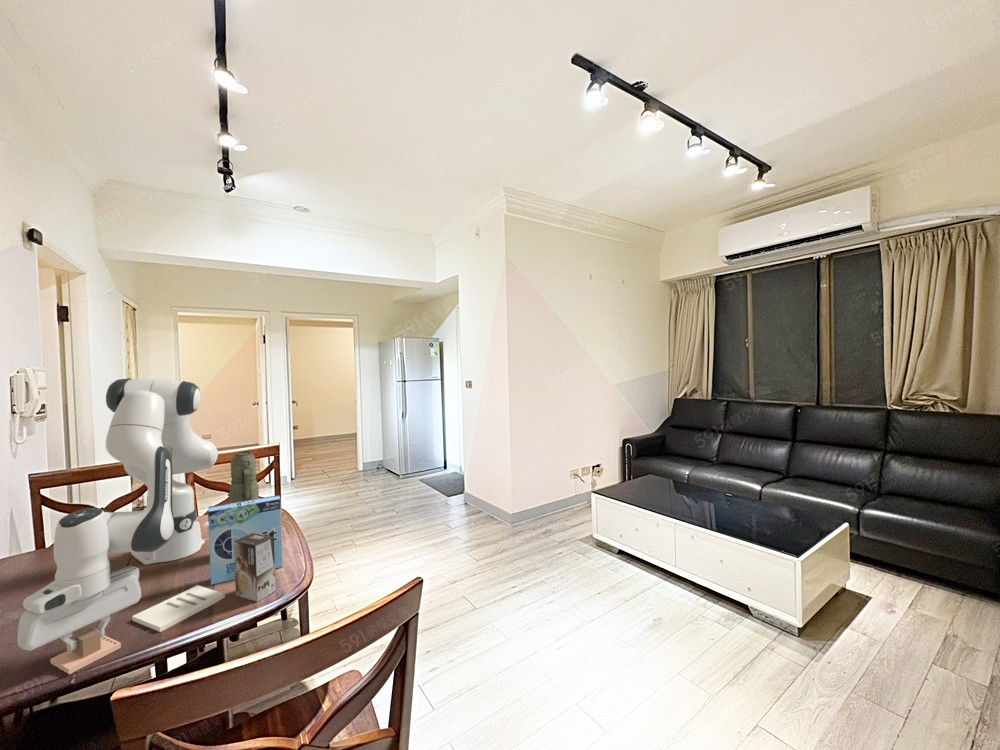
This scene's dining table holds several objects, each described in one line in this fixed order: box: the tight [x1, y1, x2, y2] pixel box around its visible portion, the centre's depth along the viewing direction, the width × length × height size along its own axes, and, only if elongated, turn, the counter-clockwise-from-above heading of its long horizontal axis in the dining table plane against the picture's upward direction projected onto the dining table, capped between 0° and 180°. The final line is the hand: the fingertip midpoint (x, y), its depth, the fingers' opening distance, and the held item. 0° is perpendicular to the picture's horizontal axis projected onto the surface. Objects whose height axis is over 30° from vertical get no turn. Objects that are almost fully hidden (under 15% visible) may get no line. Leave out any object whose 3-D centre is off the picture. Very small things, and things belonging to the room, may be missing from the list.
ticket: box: [131, 584, 226, 633], centre depth 112 cm, size 12×16×1 cm
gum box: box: [207, 494, 284, 586], centre depth 131 cm, size 19×5×23 cm, turn 123°
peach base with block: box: [49, 626, 122, 675], centre depth 94 cm, size 8×9×5 cm
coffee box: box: [234, 533, 277, 602], centre depth 119 cm, size 9×6×16 cm
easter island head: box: [228, 451, 260, 503], centre depth 145 cm, size 9×12×35 cm
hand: (86, 642), depth 94 cm, fingers closed on peach base with block, 3 cm apart
